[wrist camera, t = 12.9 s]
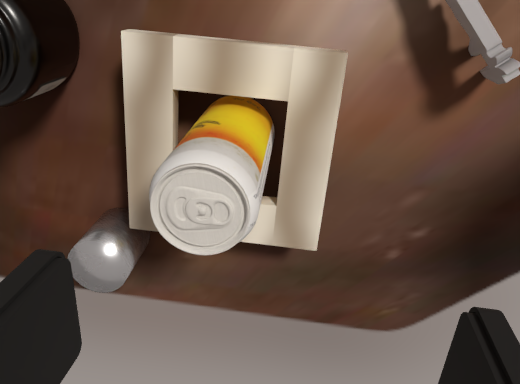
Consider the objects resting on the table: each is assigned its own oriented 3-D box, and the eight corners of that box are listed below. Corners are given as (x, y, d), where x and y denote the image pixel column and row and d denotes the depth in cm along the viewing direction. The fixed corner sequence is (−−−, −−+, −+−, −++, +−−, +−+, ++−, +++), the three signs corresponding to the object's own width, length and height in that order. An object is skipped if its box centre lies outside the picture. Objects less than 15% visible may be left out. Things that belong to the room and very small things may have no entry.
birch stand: (342, 44, 33) (348, 53, 29) (315, 220, 40) (316, 250, 35) (145, 25, 34) (120, 30, 30) (149, 201, 40) (129, 228, 36)
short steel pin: (149, 210, 41) (125, 245, 36) (150, 257, 43) (128, 296, 38) (96, 204, 41) (64, 237, 36) (100, 250, 43) (70, 288, 38)
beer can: (201, 90, 36) (137, 153, 22) (276, 95, 36) (259, 161, 22) (202, 162, 38) (146, 257, 25) (273, 166, 38) (255, 266, 24)
